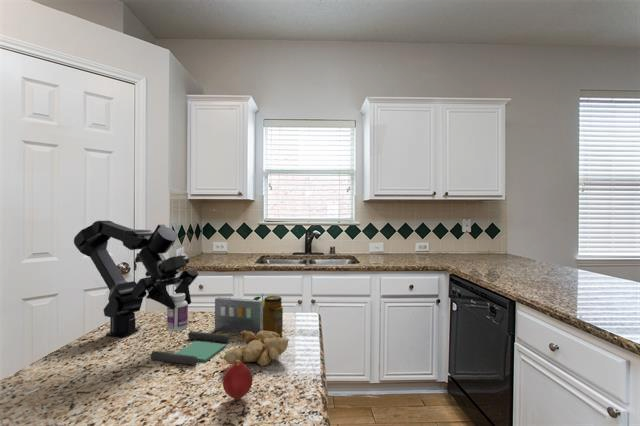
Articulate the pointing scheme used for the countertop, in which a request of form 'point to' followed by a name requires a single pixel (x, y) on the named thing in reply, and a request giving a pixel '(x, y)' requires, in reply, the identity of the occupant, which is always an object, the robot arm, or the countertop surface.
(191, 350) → the pad
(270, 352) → the ginger root
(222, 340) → the dark grey rod
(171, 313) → the pill bottle
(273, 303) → the condiment
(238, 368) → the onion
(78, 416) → the countertop surface
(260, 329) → the gray printed box
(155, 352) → the dark grey rounded rod
